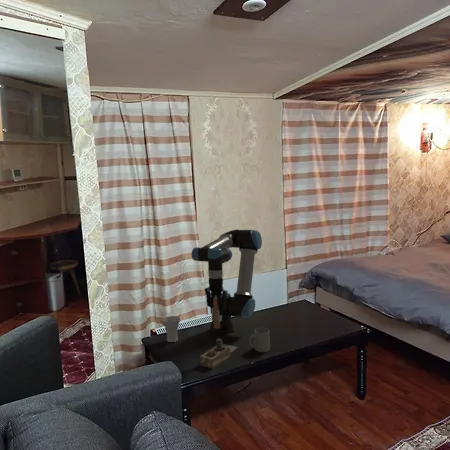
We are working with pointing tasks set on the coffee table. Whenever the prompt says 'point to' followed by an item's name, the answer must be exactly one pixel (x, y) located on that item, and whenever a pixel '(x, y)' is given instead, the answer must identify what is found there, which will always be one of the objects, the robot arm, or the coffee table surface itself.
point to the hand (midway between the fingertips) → (216, 320)
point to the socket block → (215, 355)
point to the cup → (171, 327)
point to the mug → (261, 340)
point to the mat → (230, 347)
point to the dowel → (216, 313)
